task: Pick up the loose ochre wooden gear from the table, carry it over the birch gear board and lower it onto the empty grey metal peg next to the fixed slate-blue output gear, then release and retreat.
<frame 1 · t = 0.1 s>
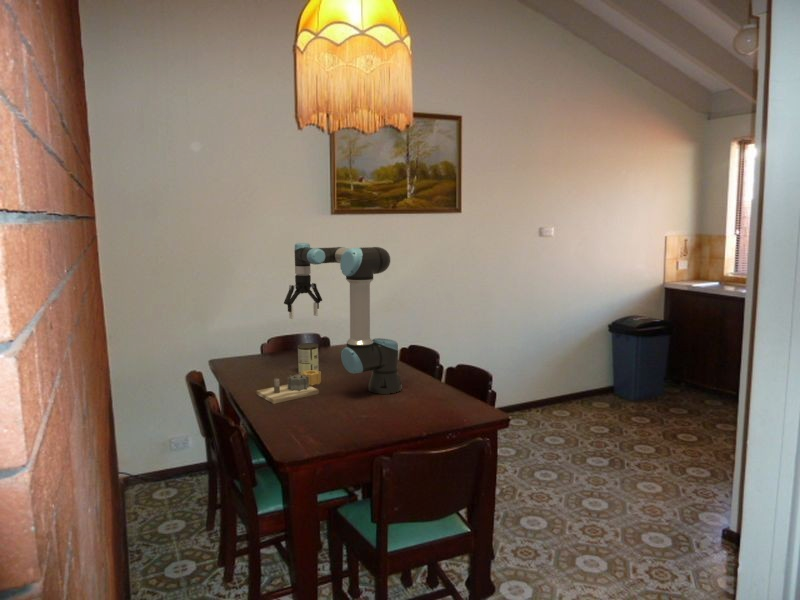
hand: (303, 317, 288), 28 cm above the table, fingers open, 13 cm apart
gear board: (287, 394, 255), on the table
gear: (310, 382, 273), on the table
coffee can: (308, 373, 290), on the table
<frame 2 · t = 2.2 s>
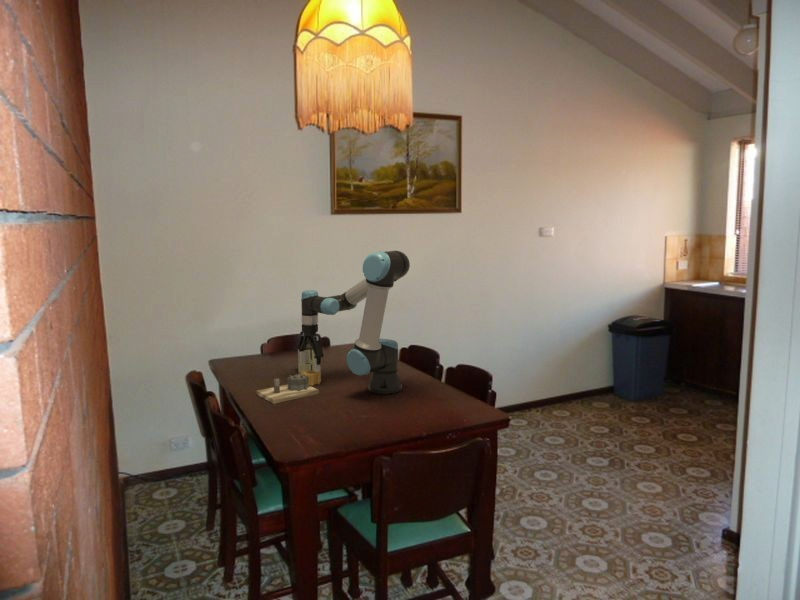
hand: (310, 367, 272), 7 cm above the table, fingers open, 13 cm apart
nothing on the table moved.
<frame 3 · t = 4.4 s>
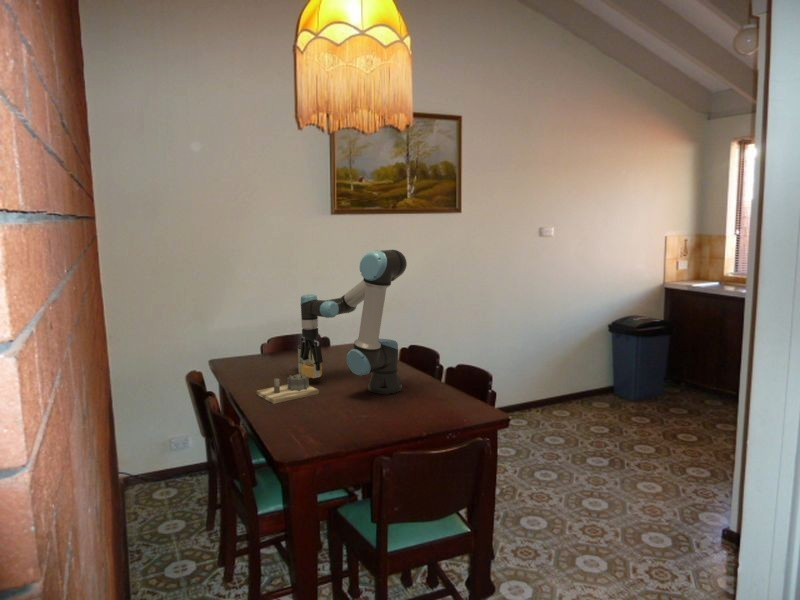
hand: (311, 375, 272), 4 cm above the table, fingers closed on gear, 9 cm apart
gear: (312, 375, 272), point 3 cm above the table, touching gripper
everything else where it was.
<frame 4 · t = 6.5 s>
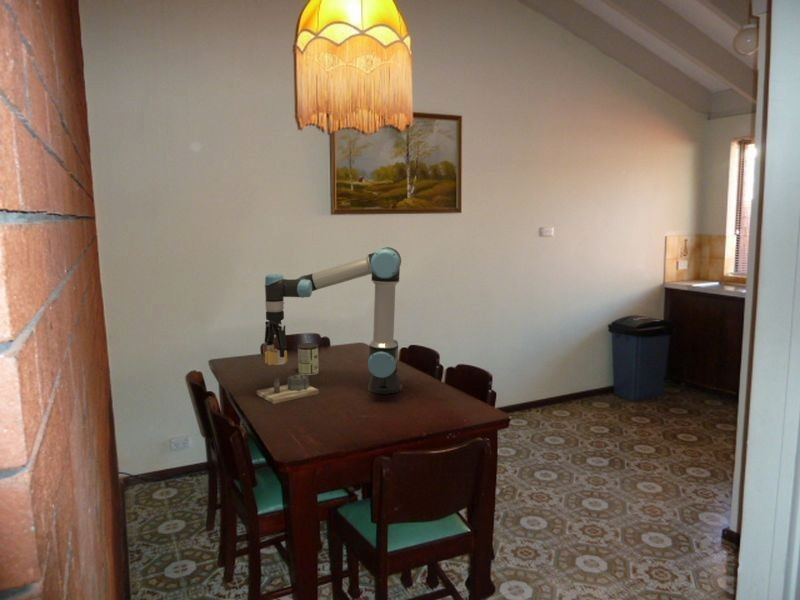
hand: (276, 361, 250), 15 cm above the table, fingers closed on gear, 9 cm apart
gear: (276, 362, 250), point 15 cm above the table, touching gripper
everything else where it was.
when the fingers open (3 cm above the table, at t = 8.8 s): gear stays where it is, resting on gear board.
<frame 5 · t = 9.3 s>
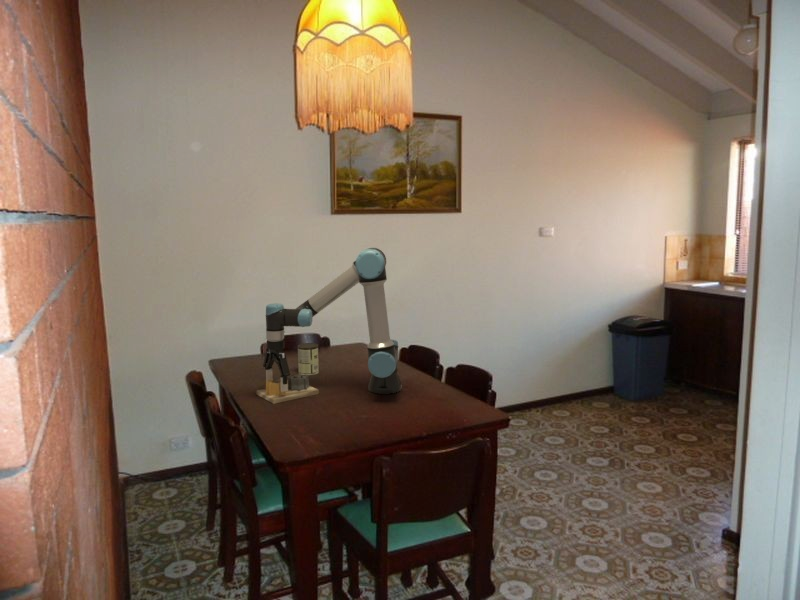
hand: (276, 387, 252), 4 cm above the table, fingers open, 13 cm apart
gear: (277, 392, 252), point 2 cm above the table, touching gear board
everything else where it was.
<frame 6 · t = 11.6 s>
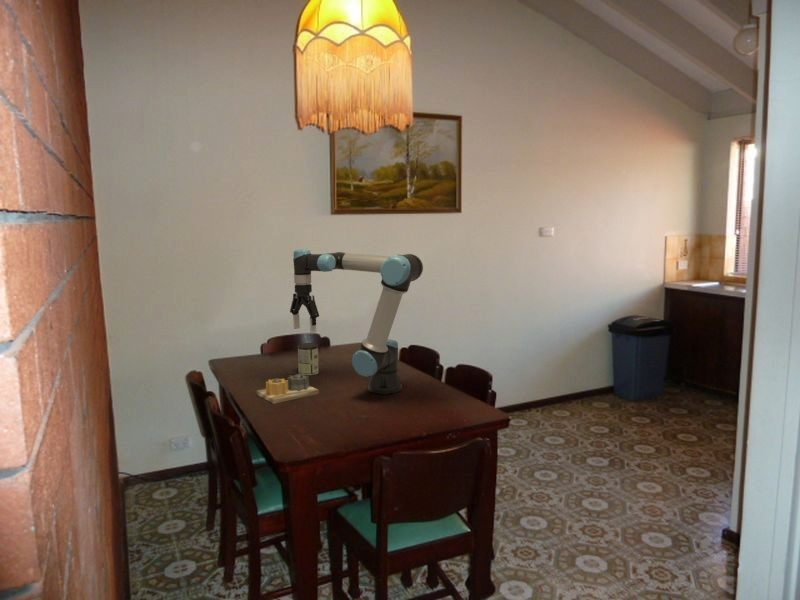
hand: (304, 330, 263), 26 cm above the table, fingers open, 13 cm apart
nothing on the table moved.
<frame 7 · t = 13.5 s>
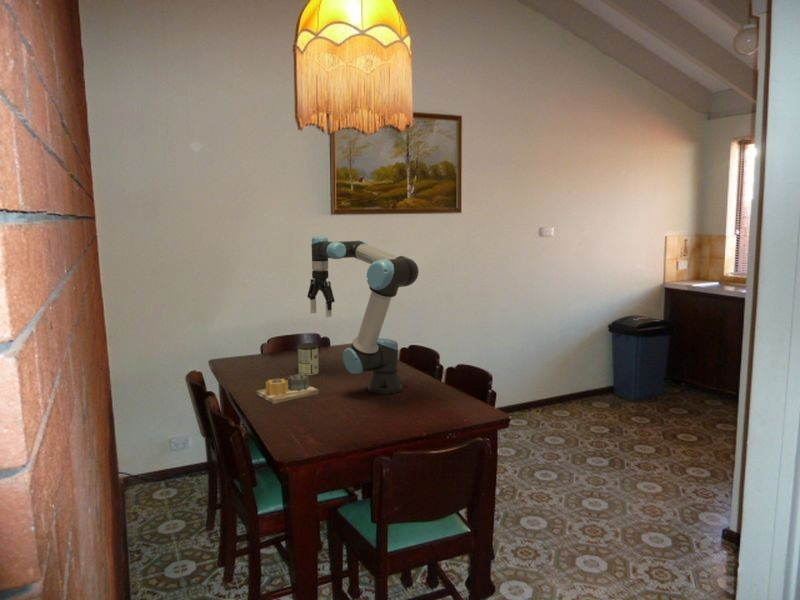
hand: (320, 315, 272), 32 cm above the table, fingers open, 13 cm apart
nothing on the table moved.
at the end: gear 0.0 cm from the target spot on the gear board, point 1.8 cm above the gear board's base; the gripper is holding nothing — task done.
